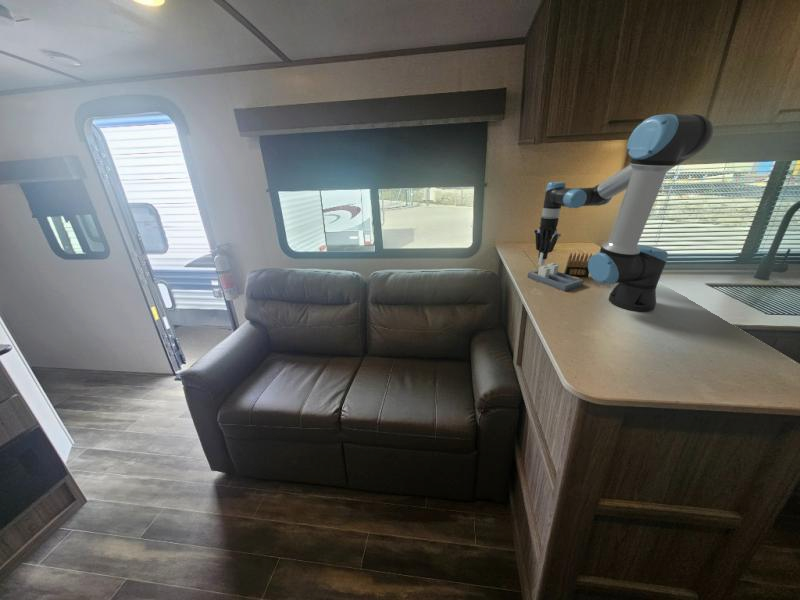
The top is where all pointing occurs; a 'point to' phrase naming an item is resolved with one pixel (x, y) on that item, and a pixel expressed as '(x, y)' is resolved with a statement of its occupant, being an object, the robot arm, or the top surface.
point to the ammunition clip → (577, 266)
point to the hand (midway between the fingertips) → (541, 264)
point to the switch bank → (557, 280)
